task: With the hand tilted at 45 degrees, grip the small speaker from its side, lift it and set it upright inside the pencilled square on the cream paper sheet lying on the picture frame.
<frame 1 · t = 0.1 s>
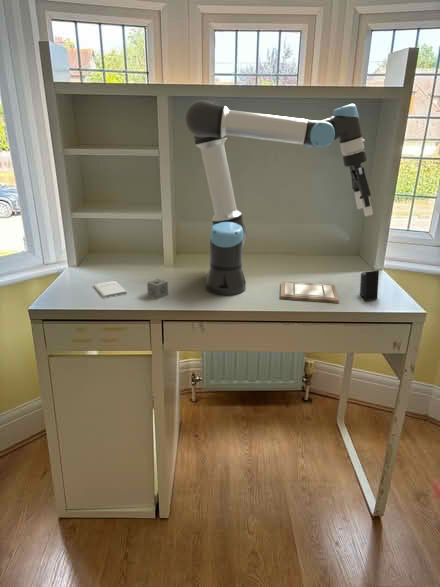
hand: (365, 211, 151), 28 cm above the table, tool tilted 20°, fingers open, 13 cm apart
picture frame: (308, 292, 152), on the table
external hard drive: (110, 292, 152), on the table
speaker: (366, 296, 150), on the table
dice cube: (158, 295, 148), on the table
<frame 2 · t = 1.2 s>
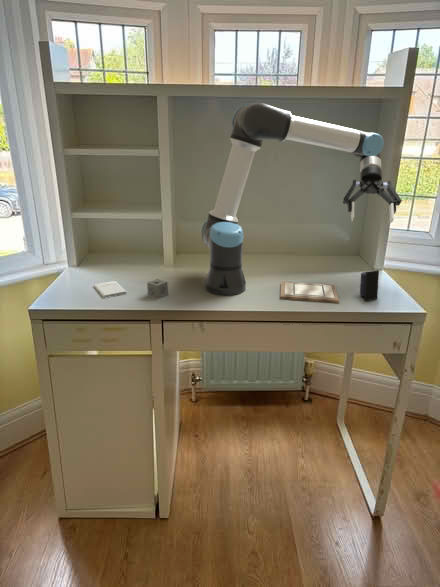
hand: (372, 219, 150), 25 cm above the table, tool tilted 45°, fingers open, 13 cm apart
nothing on the table moved.
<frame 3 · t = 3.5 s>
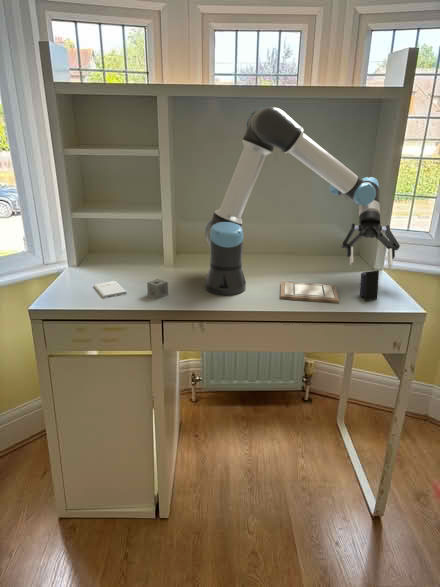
hand: (370, 265, 151), 10 cm above the table, tool tilted 45°, fingers open, 13 cm apart
nothing on the table moved.
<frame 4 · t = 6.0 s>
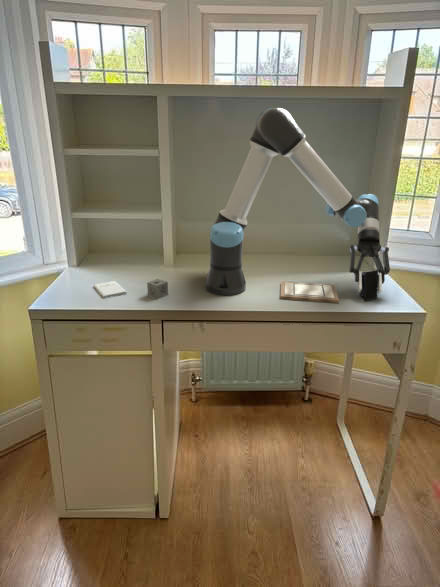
hand: (369, 290, 145), 4 cm above the table, tool tilted 45°, fingers closed on speaker, 6 cm apart
speaker: (366, 296, 150), on the table, touching gripper
everything else where it was.
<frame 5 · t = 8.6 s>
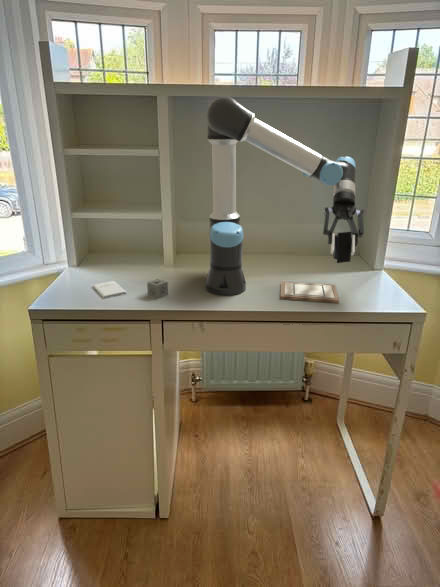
hand: (342, 252, 142), 17 cm above the table, tool tilted 45°, fingers closed on speaker, 6 cm apart
speaker: (339, 259, 146), point 13 cm above the table, touching gripper
everything else where it was.
when the fingers open (6 cm above the table, at t = 11.6 s): speaker stays where it is, resting on picture frame.
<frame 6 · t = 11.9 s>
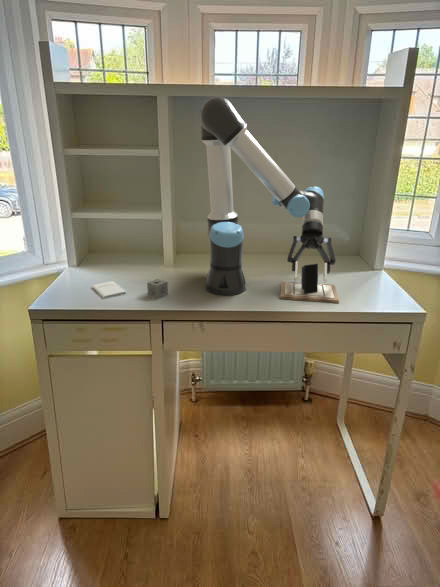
hand: (310, 280, 147), 6 cm above the table, tool tilted 45°, fingers open, 9 cm apart
speaker: (307, 290, 152), point 1 cm above the table, touching picture frame
everything else where it was.
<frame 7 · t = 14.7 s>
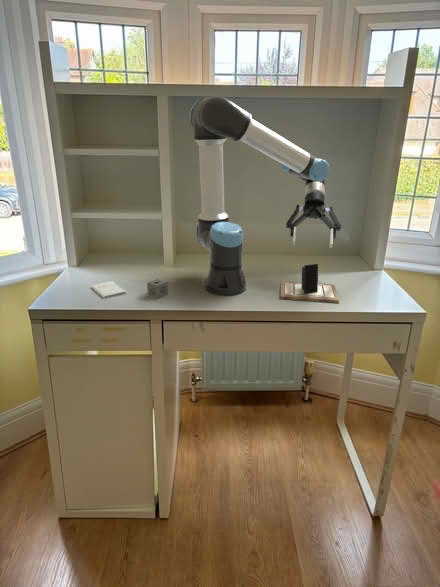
hand: (312, 244, 154), 16 cm above the table, tool tilted 45°, fingers open, 13 cm apart
nothing on the table moved.
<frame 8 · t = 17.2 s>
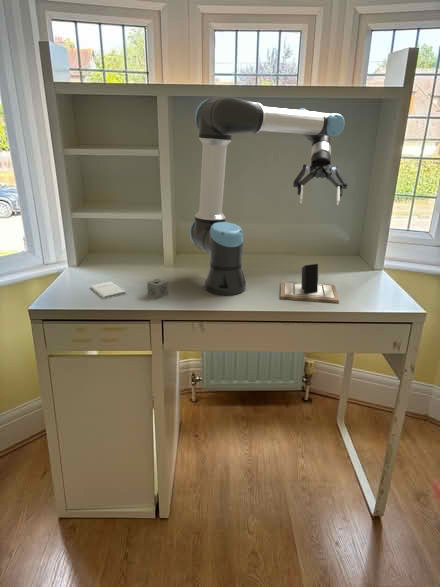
hand: (319, 202, 157), 30 cm above the table, tool tilted 45°, fingers open, 13 cm apart
nothing on the table moved.
at the end: speaker inside the target area on the picture frame (0.4 cm from its centre), point 1.0 cm above the picture frame's base; speaker tilted 0°; the gripper is holding nothing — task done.
